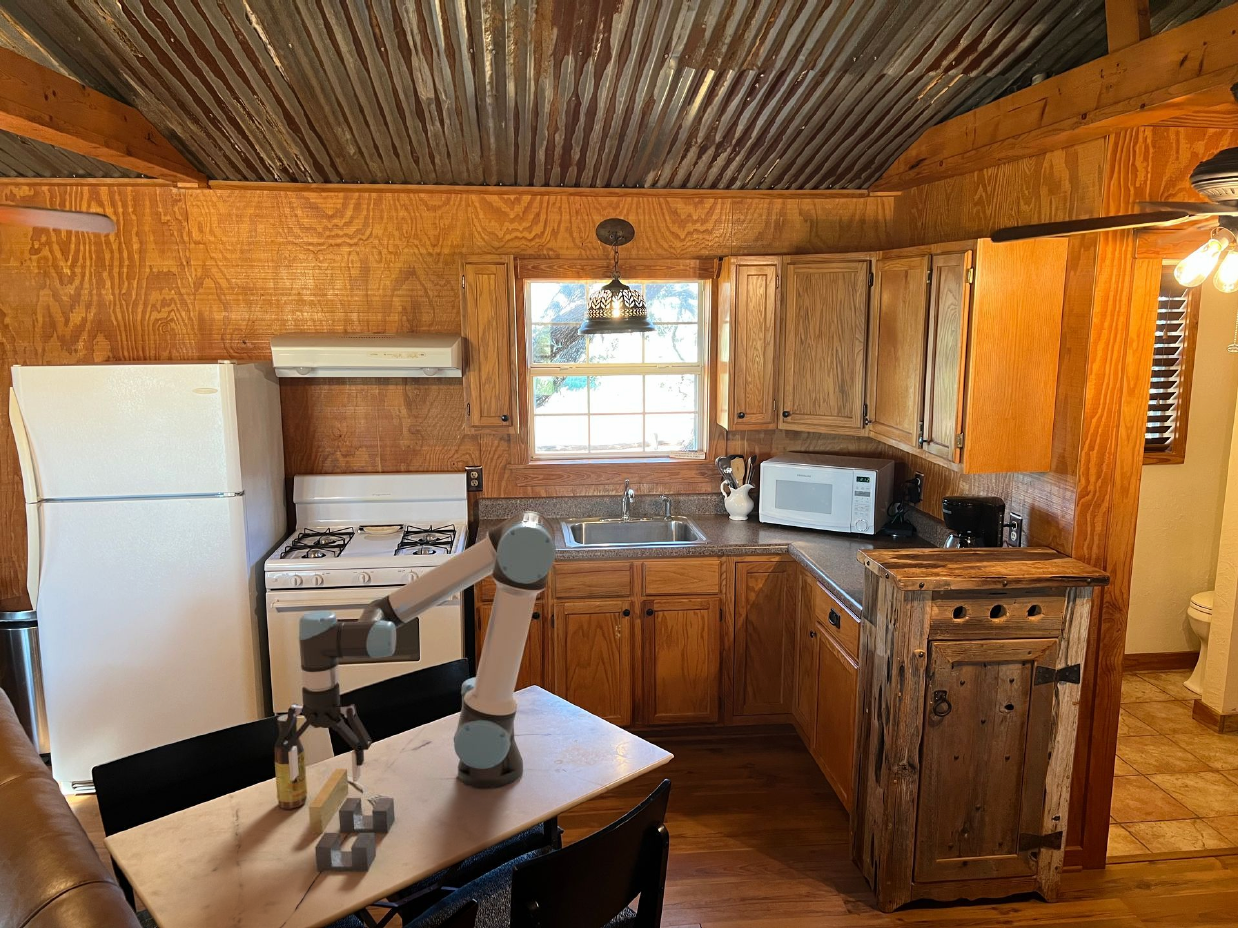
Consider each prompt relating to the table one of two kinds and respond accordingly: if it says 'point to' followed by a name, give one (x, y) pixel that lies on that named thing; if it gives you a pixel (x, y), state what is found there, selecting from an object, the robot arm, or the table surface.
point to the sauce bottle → (287, 790)
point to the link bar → (328, 801)
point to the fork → (366, 790)
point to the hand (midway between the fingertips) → (325, 778)
